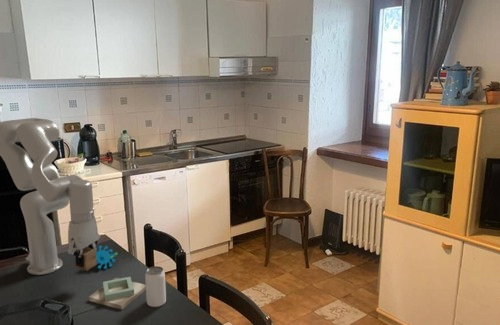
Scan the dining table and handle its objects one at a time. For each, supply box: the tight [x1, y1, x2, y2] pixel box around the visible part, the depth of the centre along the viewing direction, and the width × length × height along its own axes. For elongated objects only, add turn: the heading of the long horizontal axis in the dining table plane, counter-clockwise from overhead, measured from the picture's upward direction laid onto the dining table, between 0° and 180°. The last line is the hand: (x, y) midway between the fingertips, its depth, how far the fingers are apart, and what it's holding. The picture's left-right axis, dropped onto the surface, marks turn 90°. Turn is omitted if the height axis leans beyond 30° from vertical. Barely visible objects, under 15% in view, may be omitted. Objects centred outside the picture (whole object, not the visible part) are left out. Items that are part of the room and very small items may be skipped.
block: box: [74, 246, 98, 272], centre depth 148 cm, size 5×5×6 cm
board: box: [88, 277, 146, 310], centre depth 145 cm, size 14×14×2 cm
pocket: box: [102, 276, 134, 301], centre depth 145 cm, size 10×10×2 cm
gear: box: [96, 245, 118, 270], centre depth 166 cm, size 11×6×10 cm
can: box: [144, 265, 167, 308], centre depth 139 cm, size 6×6×12 cm
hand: (85, 262), depth 148 cm, fingers closed on block, 4 cm apart
